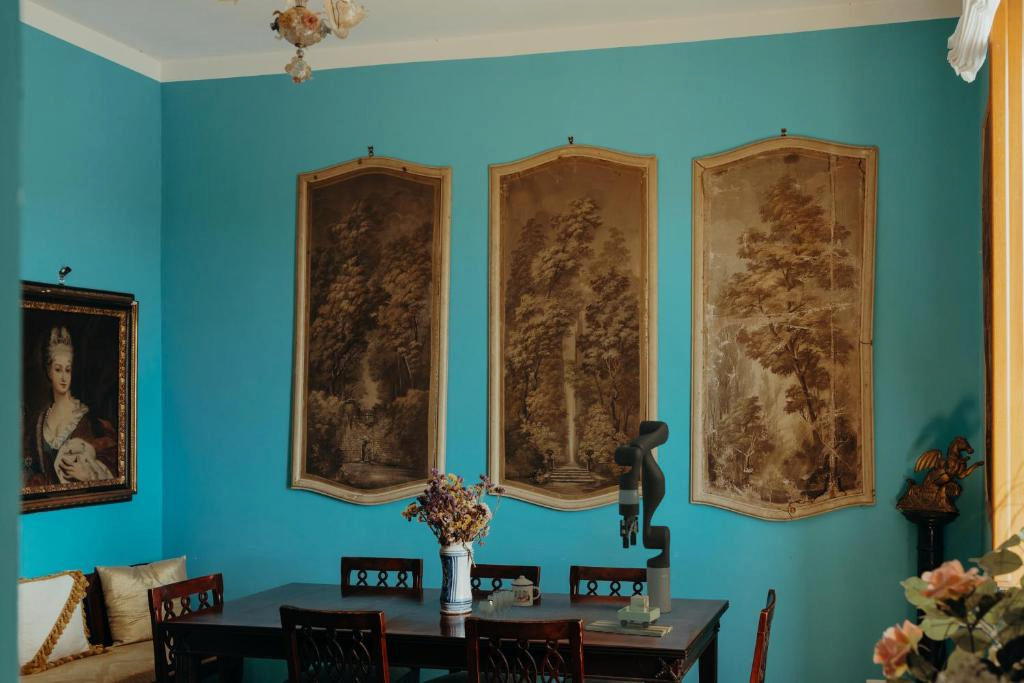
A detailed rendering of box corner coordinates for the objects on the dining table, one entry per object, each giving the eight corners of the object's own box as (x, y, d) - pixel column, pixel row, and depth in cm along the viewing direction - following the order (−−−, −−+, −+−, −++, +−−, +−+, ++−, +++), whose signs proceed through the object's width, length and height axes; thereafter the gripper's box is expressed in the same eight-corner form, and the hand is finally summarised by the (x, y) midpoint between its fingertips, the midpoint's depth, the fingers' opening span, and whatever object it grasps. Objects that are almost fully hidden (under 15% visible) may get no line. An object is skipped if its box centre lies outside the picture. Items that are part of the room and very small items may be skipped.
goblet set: (503, 621, 399) (503, 586, 400) (517, 622, 397) (517, 586, 398) (476, 636, 373) (476, 597, 374) (491, 637, 371) (491, 598, 372)
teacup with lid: (510, 606, 431) (510, 577, 432) (511, 602, 440) (511, 574, 441) (539, 607, 430) (539, 577, 431) (540, 603, 439) (540, 574, 440)
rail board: (599, 624, 393) (599, 618, 394) (672, 630, 381) (672, 624, 382) (585, 630, 381) (585, 625, 381) (661, 637, 369) (660, 631, 369)
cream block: (635, 612, 383) (635, 595, 384) (648, 613, 381) (648, 596, 382) (630, 614, 379) (630, 597, 379) (644, 615, 377) (644, 598, 377)
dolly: (628, 621, 387) (627, 605, 388) (659, 623, 382) (659, 608, 383) (617, 626, 377) (617, 610, 378) (650, 629, 372) (650, 613, 373)
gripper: (632, 504, 380) (633, 550, 379) (644, 500, 393) (645, 544, 392) (612, 503, 383) (613, 549, 383) (625, 499, 396) (626, 543, 395)
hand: (629, 546), depth 387 cm, fingers open, 8 cm apart
